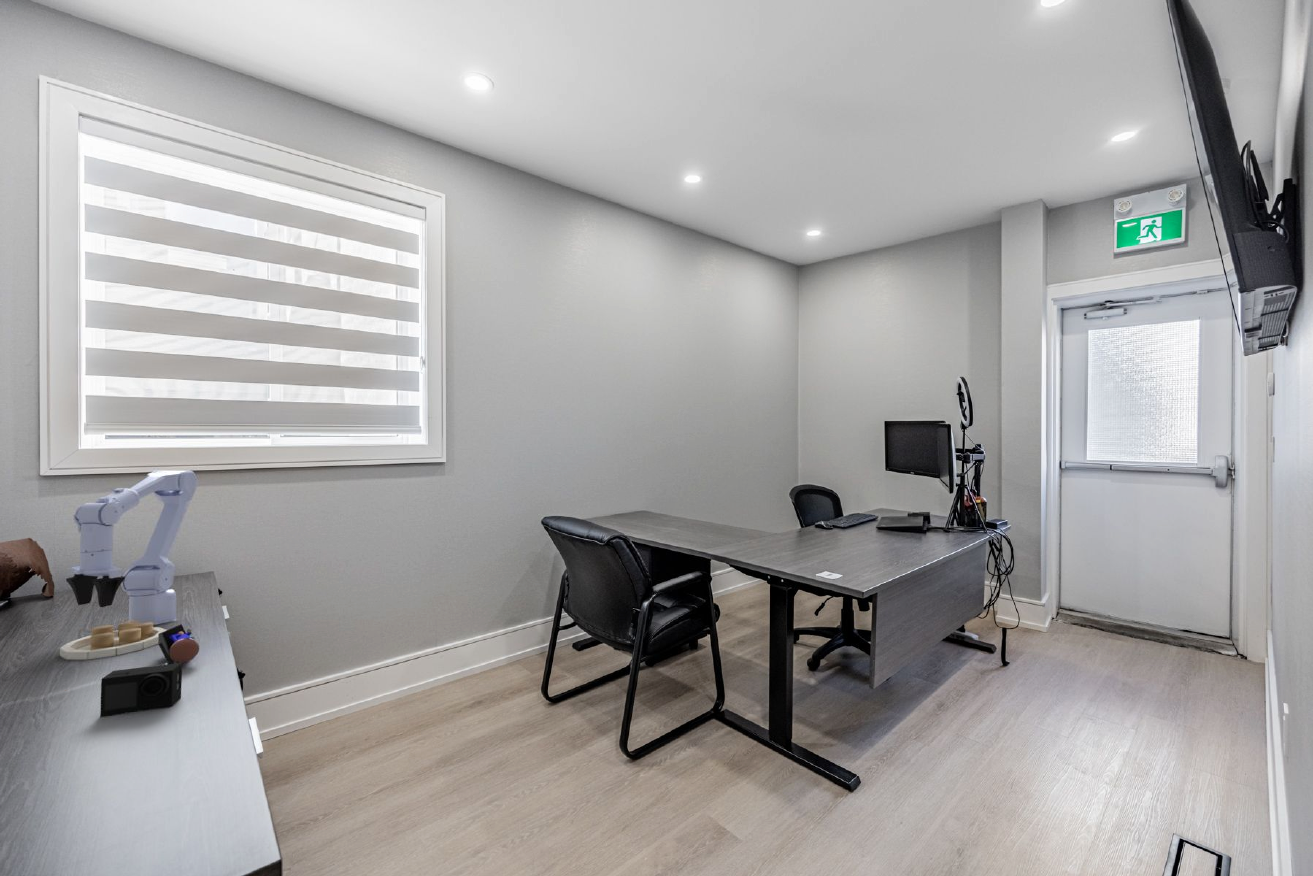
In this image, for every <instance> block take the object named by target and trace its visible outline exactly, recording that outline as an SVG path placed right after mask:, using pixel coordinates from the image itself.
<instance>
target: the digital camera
mask: <svg viewBox="0 0 1313 876" xmlns="http://www.w3.org/2000/svg"><path fill="white" fill-rule="evenodd" d="M182 678H183V663H178V662H175V664H168V663H167V664H159V665H151V666H142V667H134V668H133V667H132V668H126V669H118V670H117V669H116V670H112V671H110V672H109V673H108V674H106V675H105V676H104V677H102V678H101V683H100V684H101V685H100V708H99V709H100V713H99V714H100V715H99V716H100V718H102V717H110V716H111V717H112V716H117V715H124V714H132V713H139V712H145V711H146V712H147V711H153V710H159V709H166V708H167V709H168V708H172V707H174V705H176V704H177V702H178V701H179V700H180V699H182Z"/></svg>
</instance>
